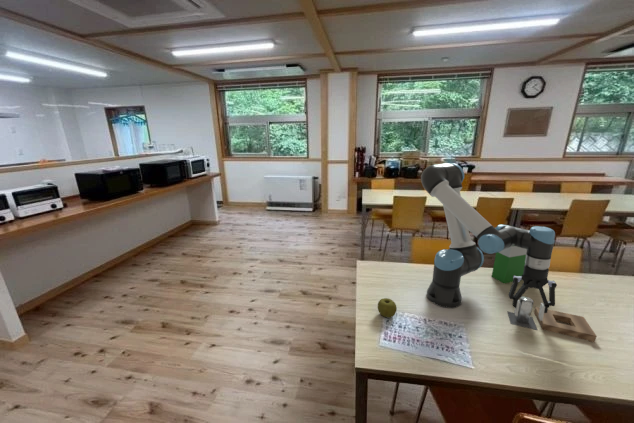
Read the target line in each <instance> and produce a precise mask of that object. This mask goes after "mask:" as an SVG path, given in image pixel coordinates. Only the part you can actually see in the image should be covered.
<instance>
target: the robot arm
mask: <svg viewBox="0 0 634 423" xmlns="http://www.w3.org/2000/svg"><path fill="white" fill-rule="evenodd" d="M464 179H465V172H464V169H463V168H462V166H460V165H459V164H457V163H454V162H453V163H451V162H446V163H445V162H444V163H438V164H431V165H429V166H427V167H425V169H424V170H423V171H422V173H421V176H420V182H421V185H422V188H423V189H424V190H425V191H426V192H427V193H428V194H429V195H430V196H431V197H433V198H436V199H437V200H438V201H439V202H440V203H441V204H442V207H443V211H444V216H445V220H446V226H447V229H448V234H449V237H450V242H451V243H450V245H449V246H448V249H447V248H444V249H440V250H438V252H436V254H435V257H434V264H433V274H432V281H431V282H430V285H429V286H428V288H427V290H426V298H427V299H428V301H430V302H431V303H433V304H434V305H436V306H440V307H442V308H448V309H449V308H450V309H451V308H452V309H454V308H458V307H459V306H461V305H462V300H463V298H462V293H461V288H460V285H461V279H462V277H463V276H466V275H467V274H470V273H472V272H473V273H474V272H476V271H478V269H480V268H481V267H482V266H483V264H484V262H485V256H484V254H483V253H486V254H490V255H492V254H496V253H497V252H500V251H502V250H504V249H506V248H509V247H511V246H517V247H520V248H525V249H527V252H526V259H525V265H524V271H523V275H522V276H516V275H514V276H513V282H511V286H510V288H509V292H508V294H507V295H508V298H509V299H510V300H512V307H513V308H514V311H513V313H515V316H518V311H519V304H520V298H521V297H523V295H524V294H525V292H526V291H527V290H528V289H536V290H538V292H539V293H540V297H541V300H542V301H543V302H540V306H539V308H540V310H539V315H538V317H539V319H540V321H543V315H544V313H547V311H548V309H549V308H550V307H555V306H556V289H557V286H558V285H557V283H556V281H555V280H549V279H548V277H549V272H550V269H549V268H550V265H551V261H552V260H551V259H552V254H553V250H554V245H555V241H556V240H555V237H556V232H555V230H554V229H552V228H550V227H547V226H541V225H540V226H538V225H535V226H532V227H531V228H530V229H525V228H522V227H521V228H520V227H515V226H512V225H509V224H498V225H497V226H496V227H495V226H494V225H492V224H491V223H490V222H489V221H488V220H487V219H486V218H485V217H483V216H482V215H481V213H479V212H478V211H477V209H475V208H474V207H473V206H472V205H471V204H470V203H468V202H467V201H466V200H465V199H464V198H463V197H462V195H461V190H462V189H463V184H462V183H463V181H464ZM470 233H471V234H472V235H473V236H474V237H475V238H476V239H477V240H478V241H477V244H478V246H477V244H476V242H475V241H473V240H472V239H471V234H470ZM520 281H523V282H522V284H521V286H520V287H519V289H518V290H517V288H518V286H519V283H520ZM546 285H547V286H548V299H547V296H546V294H545V293H546V292H545V290H544V287H545V286H546Z"/></svg>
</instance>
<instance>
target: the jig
mask: <svg viewBox="0 0 634 423" xmlns="http://www.w3.org/2000/svg"><path fill="white" fill-rule="evenodd" d="M539 310H540V306H535V307H534V310H533V313H534V315H535V317H536V320H537V322H538V325H539V327H540V329H541V330H543V331H547V332H552V333H556V334H560V335H563V336H568V337H573V338H577V339H581V340H586V341H587V342H590V343H596V339H597V336H598V335H597V334H596V333H595V332H594V330H593V328H592V327H591V325H590V324H589V323H588V321H587V320H586V319H585V317H584V316H581V315H576V314H572V313H567V312H562V311H557V310H553V309H549V308H548V311H547V313H544V315H543V321H540V319H539V317H538V315H539ZM560 322H561V323H560ZM565 323H566V324H565Z"/></svg>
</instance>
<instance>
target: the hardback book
mask: <svg viewBox="0 0 634 423" xmlns="http://www.w3.org/2000/svg"><path fill="white" fill-rule="evenodd" d="M526 252H527V249H525V248H520V247H517V246H511V247H509V248H506V249H504V250H502V251H500V252H497V253H495V255H494V263H493V267H492V272H491V278H493V279H495V280H497V281H498V282H500V283H503V284H508V283H513V276H514V275H516V276H522V275H523V271H524V265H525V259H526Z"/></svg>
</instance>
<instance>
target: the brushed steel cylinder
mask: <svg viewBox="0 0 634 423" xmlns="http://www.w3.org/2000/svg"><path fill="white" fill-rule="evenodd" d="M519 302H520V304H519V311H518V316H516V320H517V321H518V322H520V323H522V324H528V323H529V319H530V317H531V315H532V314H531V313H532V310H533V306H534V302H535V301H534V300H533V299H532V298H531V297H527V296H521V297H520V299H519Z"/></svg>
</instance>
